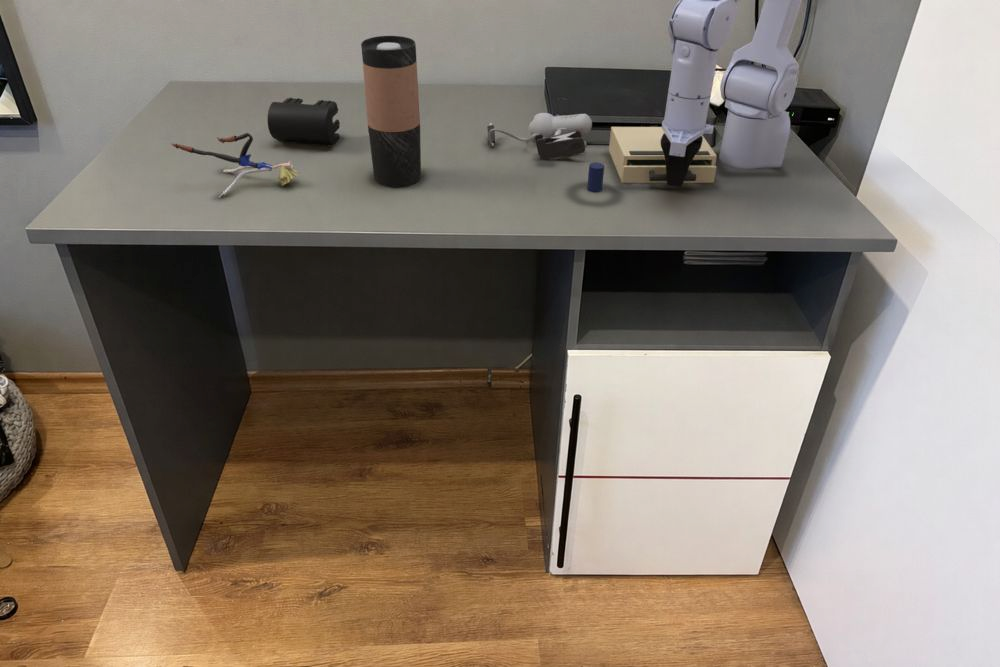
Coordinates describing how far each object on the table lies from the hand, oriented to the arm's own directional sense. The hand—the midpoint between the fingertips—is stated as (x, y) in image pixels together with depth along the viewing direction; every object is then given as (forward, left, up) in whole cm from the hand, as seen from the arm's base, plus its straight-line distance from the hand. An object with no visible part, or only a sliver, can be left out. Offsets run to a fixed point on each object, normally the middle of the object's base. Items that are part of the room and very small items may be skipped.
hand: (674, 185), depth 110 cm
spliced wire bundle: (+63, -4, -2) cm, 63 cm away
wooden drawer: (0, -8, -2) cm, 8 cm away
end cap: (+57, -21, -2) cm, 61 cm away
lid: (+12, -1, -2) cm, 12 cm away
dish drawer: (0, -10, -2) cm, 10 cm away
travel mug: (+41, -7, -2) cm, 42 cm away
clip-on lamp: (+19, -18, -2) cm, 26 cm away
